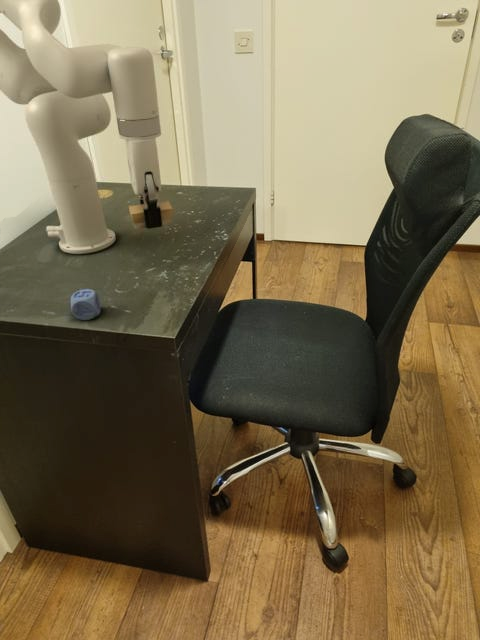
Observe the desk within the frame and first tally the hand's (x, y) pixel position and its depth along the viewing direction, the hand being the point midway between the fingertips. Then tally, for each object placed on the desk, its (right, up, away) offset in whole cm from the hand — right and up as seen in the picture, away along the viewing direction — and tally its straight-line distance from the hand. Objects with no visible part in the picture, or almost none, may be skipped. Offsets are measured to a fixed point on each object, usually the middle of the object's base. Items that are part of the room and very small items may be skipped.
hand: (152, 221), depth 95 cm
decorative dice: (-9, -19, -12) cm, 24 cm away
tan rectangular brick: (0, 0, 0) cm, 0 cm away
